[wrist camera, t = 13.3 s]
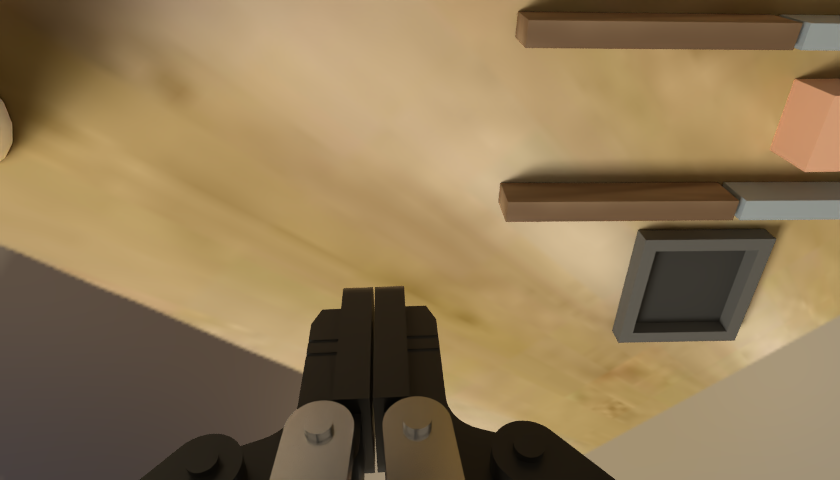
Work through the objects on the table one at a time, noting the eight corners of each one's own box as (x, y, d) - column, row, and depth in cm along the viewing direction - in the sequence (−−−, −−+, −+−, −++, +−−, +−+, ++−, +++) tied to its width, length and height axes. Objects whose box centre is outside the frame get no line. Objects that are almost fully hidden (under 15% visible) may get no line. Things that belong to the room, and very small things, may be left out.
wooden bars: (518, 11, 34) (528, 20, 31) (771, 14, 34) (802, 23, 32) (498, 201, 40) (505, 221, 38) (711, 200, 41) (732, 220, 39)
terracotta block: (793, 78, 37) (834, 95, 33) (865, 77, 37) (914, 94, 34) (768, 149, 39) (804, 172, 36) (836, 147, 40) (878, 170, 36)
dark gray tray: (638, 230, 42) (645, 240, 41) (764, 229, 43) (776, 239, 41) (612, 330, 47) (618, 342, 46) (725, 328, 48) (734, 340, 47)
